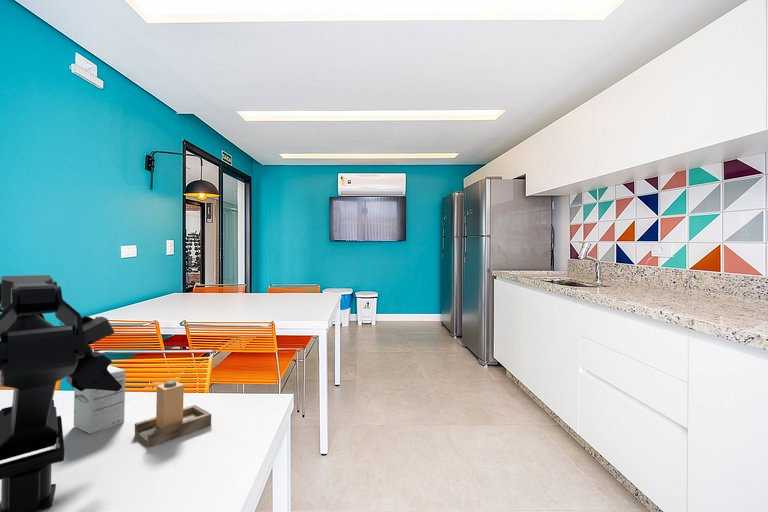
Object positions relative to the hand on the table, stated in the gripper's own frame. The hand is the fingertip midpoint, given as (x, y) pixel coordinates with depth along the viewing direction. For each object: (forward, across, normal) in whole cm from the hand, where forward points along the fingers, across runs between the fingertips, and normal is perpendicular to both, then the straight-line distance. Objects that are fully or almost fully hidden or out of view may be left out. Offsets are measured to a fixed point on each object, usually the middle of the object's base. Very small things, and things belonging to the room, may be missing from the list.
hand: (114, 385), depth 74 cm
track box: (+18, 0, +1) cm, 18 cm away
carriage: (+16, 0, +1) cm, 16 cm away
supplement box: (+11, +16, +8) cm, 21 cm away
